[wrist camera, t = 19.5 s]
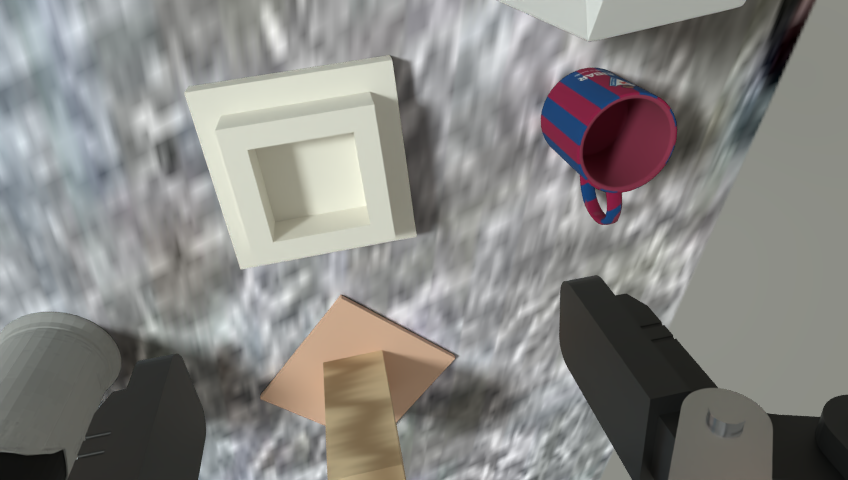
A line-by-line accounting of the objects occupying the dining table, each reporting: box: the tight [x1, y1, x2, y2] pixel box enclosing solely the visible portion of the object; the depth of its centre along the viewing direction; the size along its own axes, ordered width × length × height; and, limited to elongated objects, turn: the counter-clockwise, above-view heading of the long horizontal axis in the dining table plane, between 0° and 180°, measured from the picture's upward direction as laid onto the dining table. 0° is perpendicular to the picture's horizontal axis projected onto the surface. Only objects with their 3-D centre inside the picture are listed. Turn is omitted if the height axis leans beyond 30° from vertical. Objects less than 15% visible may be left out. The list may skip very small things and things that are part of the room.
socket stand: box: [184, 55, 417, 269], centre depth 40 cm, size 13×13×4 cm
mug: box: [541, 68, 677, 225], centre depth 41 cm, size 7×10×7 cm
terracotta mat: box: [260, 295, 455, 426], centre depth 51 cm, size 12×12×1 cm
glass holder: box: [0, 312, 121, 480], centre depth 40 cm, size 9×14×15 cm, turn 159°
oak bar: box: [323, 350, 406, 480], centre depth 46 cm, size 5×5×12 cm
